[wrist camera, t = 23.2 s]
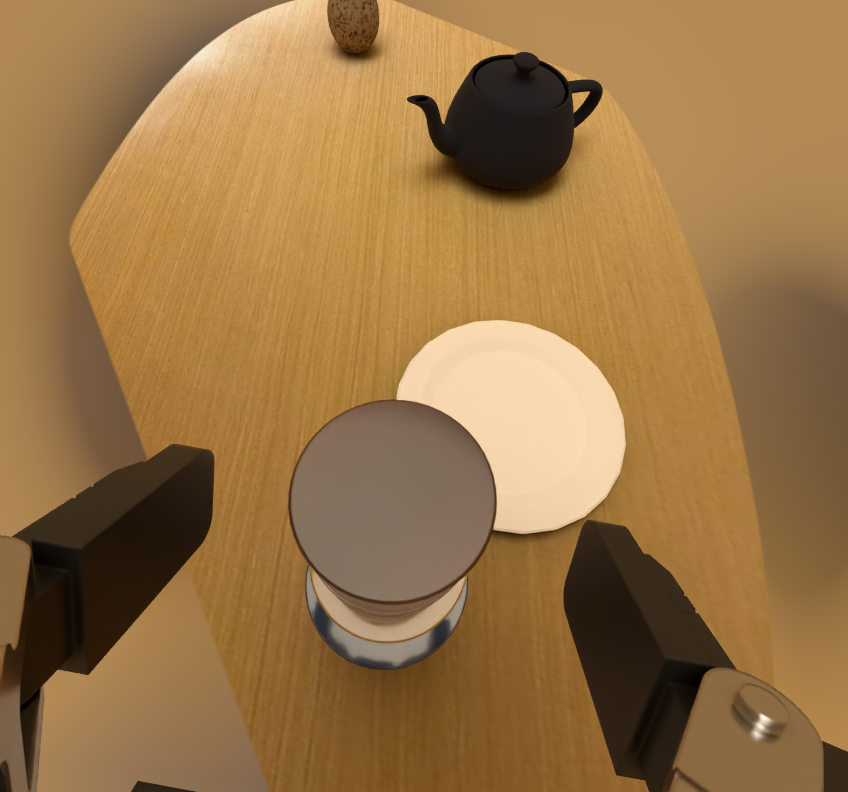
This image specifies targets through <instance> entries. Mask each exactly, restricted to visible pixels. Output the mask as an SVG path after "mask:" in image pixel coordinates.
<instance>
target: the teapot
mask: <svg viewBox="0 0 848 792" xmlns="http://www.w3.org/2000/svg"><path fill="white" fill-rule="evenodd" d="M587 91H590V93H589V95H588V97H587V98H586V100H585V101H584V103H583V104H582V105H581V106H580V108H579V109H578V110H577V111H576V112H575V113H574V112H573V100H572V93H578V92H587ZM602 93H603V89H602V86H601V85H600V83H598V82H597V81H594V80H575V81H567V79H566V78H565V77H564V76H563V75H562V74H561V73H560V72H559V71H558V70H557V69H555V68H554V67H552V66H551V65H549V64H547V63H545V62H543V61H540V60H539V59H538V58H537V57H536V56H535V55H533V54H531V53H528V52H520V53H517V54H516V55H498V56H493V57H489V58H486V59H484V60H482V61H480V62H479V63H477V64H476V65H475V66H474V67H473V68H472V69H471V71H470V72H469V74H468V75H467V77H466V78H465V80H464V82H463V83H462V85H461V86H460V88H459V90H458V91H457V93H456V95H455V97H454V99H453V101H452V103H451V105H450V107H449V110H448V113H447V116H446V120H445V124H443V123H442V121H441V117H440V113H439V109H438V106H437V104H436V102H435V101H434V100H433V99H432V98H430V97H428V96H425V95H415V96H411V97H408V98H407V101H408V102H410V103H412V104H415V105H418V106H419V107H420V108H422V110H423V111H424V113H425V115H426V119H427V125H428V130H429V135H430V138H431V140H432V142H433V144H434V146H435V147H436V148H437V149H438V150H439V151H440V152H441V153H442V154H444V155H446V156H449V157H452V159H453V160H454V162H455V163H456V164H457V165H458V166H459V167H460V168H461V169H462V170H463V171H464V172H465V173H466V174H467V175H468V176H469V177H471V178H472V179H473V180H475V181H477V182H479V183H481V184H483V185H485V186H488V187H491V188H495V189H501V190H518V189H523V188H527V187H530V186H534V185H537V184H539V183H542V182H544V181H546V180H548V179H549V178H551V177H552V176H554V175H555V174H556V173H557V172H558V171H559V170H560V169H561V168H562V167H563V166H564V164H565V163H566V161H567V159H568V157H569V154H570V151H571V148H572V143H573V135H574V128H576V127H577V126H578V125H579V124H581V123H582V122H583V121H584V120H585V119H586V118H587V117H588V116H589V115H590V114H591V113H592V112H593V110H594V109H595V108H596V106H597V105H598V103H599V101H600V99H601V97H602Z"/></svg>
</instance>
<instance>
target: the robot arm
mask: <svg viewBox="0 0 848 792" xmlns="http://www.w3.org/2000/svg"><path fill="white" fill-rule="evenodd" d="M213 486H214V455H213V453H212V451H210V450H207V449H201V448H196V447H190V446H185V445H179V444H172V445H170V446H168V447H167V448H165V449H164V450H162V451H161V452H160V453H158V454H157V455H155V456H154V457H152V458H151V459H149V460H148V461H146V462H139V463H136V464H133V465H130V466H127V467H125V468H122V469H118V470H116V471H114V472H112V473H110V474H109V475H107V476H106V477H104V478H103V479H101V480H100V481H98V482H96V483H95V484H94V486H93V487H89V488H87V489H85V490H84V491H82V492H81V493H79V494H78V495H77V496H76V498H75V499H74V498H71V499H70V500H68V501H67V502H65V503H64V504H62V505H60V506H59V507H57V508H56V509H54V510H53V511H51V512H50V513H48V514H47V515H45V516H43V517H42V518H40V519H39V520H37V521H35V522H34V523H32V524H31V525H29V526H28V527H26V528H25V529H23V530H21V531H20V532H18V533H17V534H15V535H14V536H12V537H9V536H0V792H37V780H38V768H39V756H40V744H41V732H42V720H43V707H44V689H43V684H44V683H45V682H46V681H47V680H48V679H49V678H50V677H51V676H52V675H53V674H54V672H56V671H57V670H64V671H69V672H74V673H80V674H85V675H89V674H90V672H91V671H92V670H93V669H94V668H95V667H96V665H97V664H98V663H99V662H100V661H101V660H102V658H103V657H104V656H105V655H106V654H107V653H108V652H109V650H110V649H111V648H112V647H113V646H114V645H115V644H116V642H117V641H118V640H119V639H120V638H121V636H122V635H123V634H124V633H125V632H126V631H127V630H128V628H129V627H130V626H131V625H132V624H133V623H134V622H135V620H136V619H137V618H138V617H139V616H140V614H142V612H143V611H144V610H145V609H146V608H147V607H148V605H149V604H150V603H151V602H152V601H153V600H154V599H155V597H156V596H157V595H158V594H159V593H160V592H161V590H162V589H163V588H164V587H165V586H166V585H167V583H168V582H169V581H170V580H171V579H172V578H173V577H174V575H175V574H176V573H177V572H178V571H179V570H180V568H181V567H182V566H183V565H184V564H185V563H186V562H187V560H188V559H189V558H190V557H191V556H192V555H193V553H194V552H195V551H196V550H197V549H198V548H199V547H200V545H201V544H202V543H203V541H204V539H205V538H206V535H207V533H208V531H209V528H210V525H211V520H212V511H213ZM564 609H565V614H566V617H567V620H568V623H569V626H570V629H571V633H572V636H573V639H574V642H575V645H576V649H577V652H578V655H579V658H580V661H581V664H582V668H583V671H584V674H585V677H586V680H587V683H588V687H589V690H590V693H591V696H592V699H593V703H594V706H595V709H596V712H597V715H598V718H599V722H600V725H601V728H602V731H603V734H604V737H605V741H606V744H607V747H608V750H609V753H610V757H611V760H612V763H613V766H614V769H615V772H616V775H619V776H624V777H629V778H635V779H640V780H645V781H646V784H647V787H648V789H649V792H848V752H847V751H844V750H842V749H840V748H837V747H835V746H833V745H830V744H828V743H826V742H823V741H821V739H820V736H819V734H818V732H817V730H816V729H815V727H814V726H813V724H812V723H811V721H810V720H809V719H808V718H807V717H806V715H805V714H804V713H803V712H802V711H801V710H800V709H799V708H798V707H797V706H796V705H795V704H794V703H793V702H792V701H791V700H789V699H788V698H787V697H786V696H784V695H783V694H782V693H780V692H779V691H778V690H776V689H775V688H773V687H772V686H770V685H769V684H767V683H765V682H764V681H762V680H760V679H758V678H756V677H754V676H752V675H749V674H747V673H745V672H742V671H739V670H737V669H736V668H735V666H734V665H733V663H732V662H731V660H730V659H729V658H728V656H727V655H726V653H725V652H724V650H723V649H722V647H721V646H720V644H719V643H718V641H717V640H716V639H715V637H714V636H713V634H712V633H711V631H710V630H709V628H708V627H707V625H706V624H705V622H704V621H703V620H702V618H701V617H700V615H699V614H697V613H695V608H694V606H693V605H692V603H691V602H690V601H689V599H688V598H687V597H686V596H684V592H683V590H682V589H681V587H680V586H679V585H678V583H677V582H676V580H675V579H674V577H673V576H672V574H671V573H670V572H669V571H668V570H667V569H665V568H664V567H663V566H662V565H661V564H660V563H658V562H657V561H656V560H655V559H654V558H653V557H651V556H650V555H648V554H644V553H643V552H642V550H641V549H640V547H639V546H638V544H637V543H636V541H635V539H634V538H633V536H632V535H631V533H630V532H629V530H628V529H627V528H626V527H625V526H621V525H616V524H610V523H605V522H599V521H594V520H587V521H586V522H585V523H584V525H583V527H582V529H581V532H580V536H579V539H578V542H577V545H576V549H575V552H574V555H573V558H572V561H571V565H570V568H569V571H568V574H567V578H566V581H565V586H564ZM131 792H194V791H189V790H184V789H178V788H172V787H167V786H162V785H157V784H151V783H146V782H141V781H137V783H136V785H135V786H134V788H133V790H132V791H131Z"/></svg>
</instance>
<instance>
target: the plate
mask: <svg viewBox="0 0 848 792" xmlns="http://www.w3.org/2000/svg"><path fill="white" fill-rule="evenodd" d="M396 400H407V401H413V402H418V403H422V404H425V405H428V406H431V407H433V408H436V409H438V410H440V411H442V412H444V413H445V414H447V415H449V416H451V417H452V418H453V419H455V420H456V421H457V422H459V423H460V424H461V425H462V426H463V427H464V428H465V429H467V430H468V431H469V432H470V434H471V435H472V436H473V437H474V438H475V440H476V441H477V442H478V444H479V445H480V447H481V448H482V450H483V451H484V453H485V455H486V457H487V459H488V461H489V463H490V466H491V469H492V472H493V475H494V480H495V485H496V493H497V510H496V519H495V523H494V528H493V530H496V531H503V532H510V533H517V534H529V533H537V532H544V531H552V530H557V529H559V528H561V527H563V526H565V525H568V524H570V523H572V522H574V521H576V520H579V519H581V518H583V517H585V516H586V515H587V514H588V513H589V512H590V511H592V510H593V509H594V508H595V507H596V506H597V505H598V504H599V503H600V502H601V501H603V500H604V499H605V498H606V497H607V495H608V493H609V491H610V490H611V488H612V486H613V484H614V483H615V481H616V479H617V477H618V476H619V474H620V471H621V466H622V462H623V457H624V452H625V447H626V441H625V429H624V418H623V415H622V412H621V410H620V407H619V404H618V401H617V399H616V396H615V393H614V391H613V389H612V388H611V386H610V385H609V383H608V382H607V380H606V379H605V377H604V376H603V374H602V373H601V371H600V370H599V368H598V367H597V366H596V365H595V364H594V363H593V362H592V361H590V360H589V359H588V358H587V357H586V356H585V355H584V354H583V353H582V352H581V351H580V350H579V349H578V348H576V347H575V346H573V345H572V344H570V343H568V342H567V341H565V340H563V339H562V338H560V337H559V336H557V335H555V334H554V333H551V332H548V331H546V330H543V329H540V328H537V327H535V326H532V325H529V324H525V323H518V322H511V321H504V320H494V321H479V322H472V323H469V324H466V325H462V326H459V327H456V328H453V329H450V330H448V331H446V332H445V333H443V334H441V335H440V336H438V337H436V338H435V339H433V340H432V341H430V342H428V343H427V344H426V345H425V346H424V347H423V348H422V350H421V351H420V352H419V353H418V354H417V355H416V356H415V357H414V358H413V359H412V360H411V361H410V363H409V365H408V367H407V369H406V371H405V373H404V375H403V377H402V379H401V381H400V383H399V386H398V392H397V398H396Z"/></svg>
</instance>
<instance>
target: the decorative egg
mask: <svg viewBox="0 0 848 792" xmlns="http://www.w3.org/2000/svg"><path fill="white" fill-rule="evenodd" d="M327 12H328V22H329V27H330V30H331V32H332V35H333V37H334V39H335V40H336V42H337V43H338V44H339V45H340V46H341V47H342V48H343V49H344V50H346V51H348V52H351V53H361V52H363V51H365V50H367V49H368V48H369V47H370V46H371V45H372V43H373V42H374V40H375V38H376V35H377V32H378V28H379V10H378V4H377V0H328V9H327Z"/></svg>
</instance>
